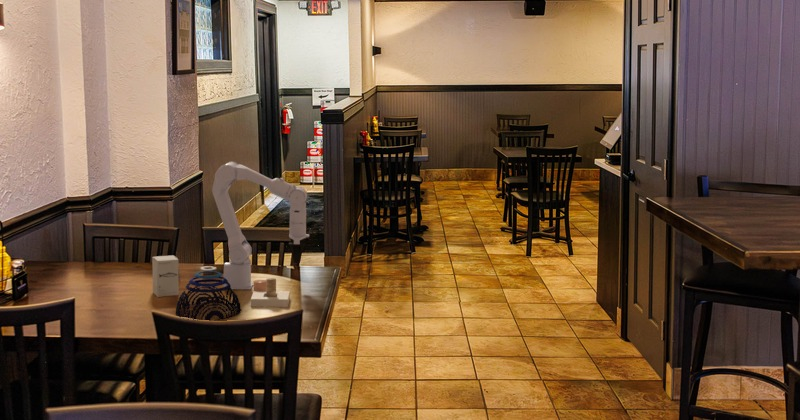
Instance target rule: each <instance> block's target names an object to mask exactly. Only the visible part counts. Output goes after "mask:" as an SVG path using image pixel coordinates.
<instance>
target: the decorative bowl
mask: <svg viewBox="0 0 800 420" xmlns="http://www.w3.org/2000/svg"><path fill="white" fill-rule="evenodd" d="M199 269H200V270H201V271H198V272H197V273H195V274H194V276H193V277H192V278H191V279H190V280H189V281H188V283H187V284H186V285H185V289H186V290H188V291H187V293H186V290H184V291H182V293H181V294H180V295H179V298H178V300H176V301H177V302H176V307H175V315H176V316H177V317H179V316H180V317H181V316H182V317H188V318H190V319H191V318H193V320H194V319H197V320H198V319H199V320H200V319H202V320H212V318H213V317H215V316H216V317H217V318H218V319H217V318H216V319H215V321H220V320H221V321H222V320H227V319H228V320H229V319H231V318H233V317H235V316H238V315H240V314H241V312H242V306H241V302H240V300H239V297H238V295H237V294H236V292H235V291H234V289H231V288H230V287H231V286H230V284H229V283H228V280H227V279H226V278H224V276H223V273H222V272H219V271H216V270H217V267H216V266H212V265H206V266H205V265H204V266H201V267H200V268H199ZM206 273H207V275H201V274H206ZM208 273H210V274H211V273H213V274H215V275H208ZM223 279H224V280H223ZM207 282H208V283H207ZM224 284H228V285H226V286H225V287H224ZM190 285H191V286H194V287H191V286H190ZM218 286H219V288H218ZM220 286H223V287H220ZM223 291H226V293H225V294H226V295H224V293H223ZM209 293H210V294H209ZM211 294H212V295H211ZM194 296H195V297H194ZM190 303H191V304H190ZM190 306H193V307H192V309H190V308H191V307H190ZM214 309H215V310H214ZM240 311H241V312H240ZM207 312H208V313H207ZM226 312H227V313H226ZM203 318H204V319H203Z"/></svg>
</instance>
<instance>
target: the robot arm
mask: <svg viewBox="0 0 800 420" xmlns="http://www.w3.org/2000/svg"><path fill="white" fill-rule="evenodd" d="M243 180H248V181H250V182H252V183H255V184H257V185H260V186H262V187H265V188H267V189H268V191H269V193H270V194H272V195H274V196H276V197H279V198H280V199H282V200H284V201H285V200H286V201H288V202H289V203H290V204H289V234H288V237H289V239H290V242H288V246H289V248H290V251H291V254H292V255H291V256H292V260H293V264H300V263H301V261H302V254H303V250H304V248H305V247H306V243H305V242H306V241H307V238H309V237H310V234H307V198H308V192H307V190H306V189H305V188H304V187H302V186H297V185H296V184H295V183H293V184H291V183H289V182H287V181H285V180H284V178H282V177H280V178H279V177H275V178H273V179H272V178H271V177H267V176H265V175H264V174H261V173H260V172H258V171H255V170H254V169H253V168H249V167H248V166H245V165H244V164H240V163H239V164H238V162H235V161H228V162H227V163H225V164H222V165H221V166H219V167H218V169H217V170H216V172H215V173H214V180H213V183H212V184H213V185H212V189H211V191H212V192H211V193H212V196H213V198H214V201H215V204H216V207H217V210H218V213H219V217H220V218H221V221H222V225H223V228H224V231H225V233H226V236H227V239H228V240H227V245H228V248H229V252H228V258H229V262H224V264H223V277H224V278H226V279H227V280H228V283H229V284H230V286H231V287H230V288H231V289H232V290H251V289H252V287H253V282H252V281H251V280H252V278H251V277H252V273H251V272H252V260H251V259H250V257H251V255H252V251H253V249H252V246H251V244H250V243H249V242H248V241H247V239H246V236H245V235H244V234H243V233H242V229H241V227H240V224H239V221H238V217H237V214H236V212H235V209H234V206H233V203H232V199H231V197H230V193H229V190H230V188H231V186H232V184H233V183H234V182H235V181H243ZM222 280H224V279H222ZM226 285H228V284H223V287H225V286H226Z"/></svg>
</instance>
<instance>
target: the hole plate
mask: <svg viewBox="0 0 800 420" xmlns="http://www.w3.org/2000/svg"><path fill="white" fill-rule="evenodd" d="M290 293H291V292H290V291H285V290H284V291H282V290H281V291H280V290H279V291H278V290H276V297H266V291H254V292H253V293H252V294H251V297H250V307H251V306H263V307H264V306H265V307H267V308H269V307H270V308H273V307H274V308H275V307H276V308H279V307H280V308H288V307H289V303H290V295H291V294H290Z"/></svg>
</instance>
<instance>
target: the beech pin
mask: <svg viewBox="0 0 800 420" xmlns="http://www.w3.org/2000/svg"><path fill="white" fill-rule="evenodd" d="M265 280H266V297H276V291H277V278H275V277H268V278H266V279H265Z"/></svg>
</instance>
